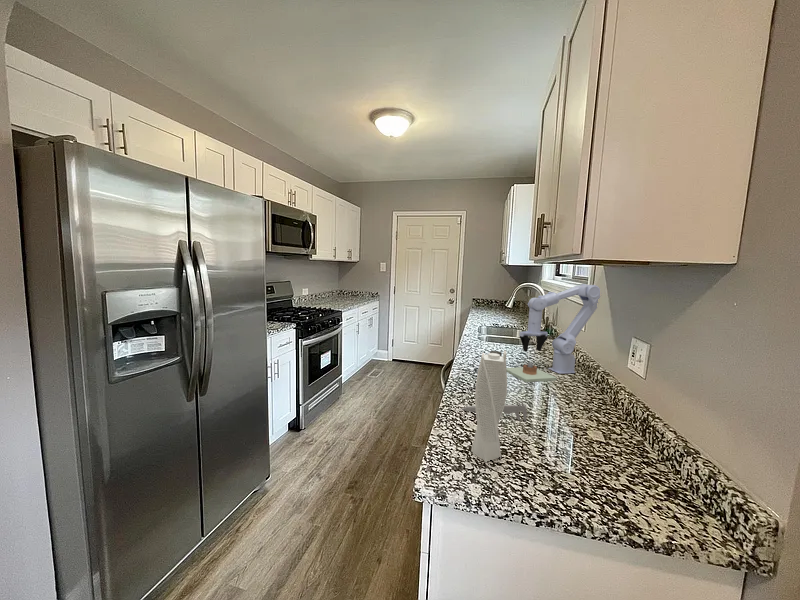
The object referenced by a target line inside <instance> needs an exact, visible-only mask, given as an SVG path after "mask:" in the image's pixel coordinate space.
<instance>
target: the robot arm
mask: <svg viewBox="0 0 800 600" xmlns="http://www.w3.org/2000/svg"><path fill="white" fill-rule="evenodd" d="M600 290H601V288H600V287H599V286H598V285H597V284H587V283H582V284H578V285H575V286H573V287H572V286H571V287H570V288H567V289H564V290H563V291H559V292H555V291H548V292H547V293H545V294H543V295H538V296H537V297H532V298H530V299H529V301H528V302H527V306H528V309H529V310H528V320H527V321H528V322H527V330H526V331H519V335H518V336H519V339H520V341H521V344H522V350H523V352H528V351H529V345H530V341H531V337H535V338H536V351H539V352H541V351H542V349H543V346H544V344H545V342H546V341H547V340H548V331H541V328H542V320H543V319H542V318H543V317H542V315H543V310H544V309H545V308H548V307H550V306H554V305H557V304H559V302H560V300H563V299H567V298H570V297H574V296H578V297H579V299H580V300H581V302H582V307H581V308H580V310H579V311H578V312H577V314H576V315H575V317H574V318H573V319H572V321H571V323H569V325H568V326H567V328H566V329H565V331H564V332H562V333H560V334H559V335H558V336H557V337H555V338H554V339H553V340H552V342H551V346H552V349H553V357H552V367H548V368H547V369H548V370H550V371H552V372H555V373H557V374H560V375H562V374H563V375H565V374H575V373H576V371H575V366H576V365H575V364H576V357H575V355H574V353H573V352H574V350H575V346H576V344H577V341H576V338H578V336H579V334H580V333H581V331H582V329H584V327H585V326H586V324H587V323H588V321H589V320H590V319H591V317H592V316H593V315H594V313H595V312H596V310H597V309H598V307H597V303H598V304H599V302H598V299H599V300H600V298H601V296H600Z"/></svg>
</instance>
